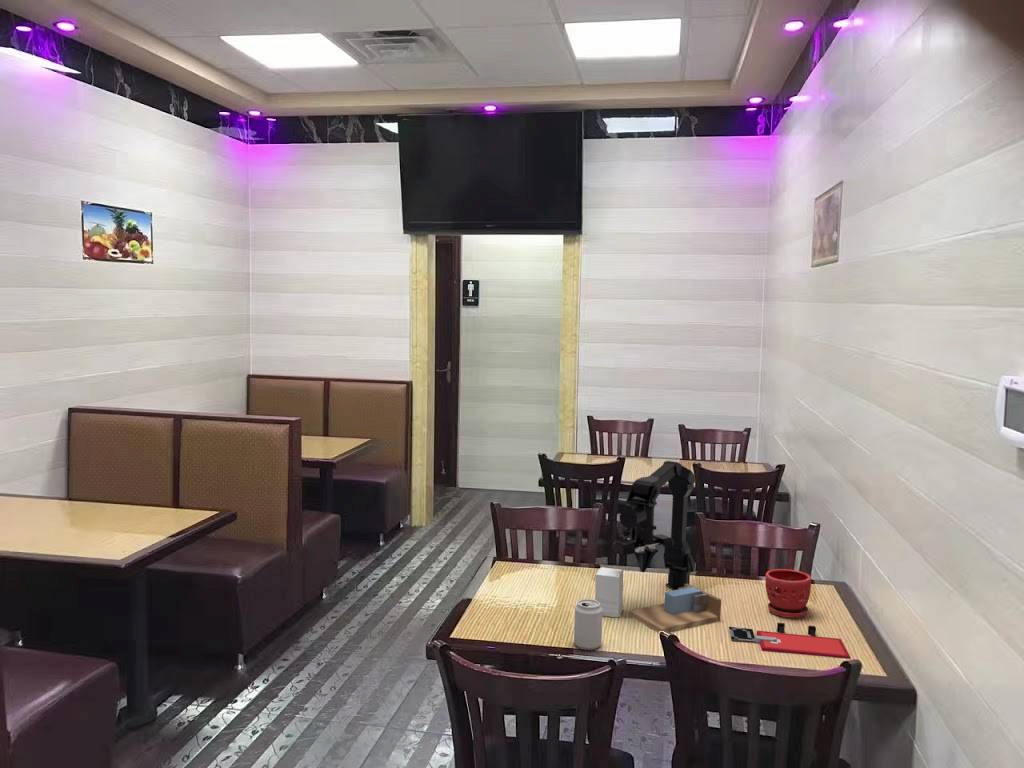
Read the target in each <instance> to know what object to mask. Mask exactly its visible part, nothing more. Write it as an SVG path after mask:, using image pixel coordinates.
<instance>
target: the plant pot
mask: <svg viewBox="0 0 1024 768" xmlns="http://www.w3.org/2000/svg"><path fill="white" fill-rule="evenodd" d="M789 579H791V580H789ZM811 588H812V578H811V575H810V574H808V573H807V572H806V573H805V572H802V571H800V570H795V569H787V568H786V569H785V568H784V569H783V568H777V569H771V570H768V571H767V572H766V573H765V592H766V596H767V598H768V601H769V603H768V604H767V607H768V610H769V611H770V612H771V613H773V614H774V615H776V616H778V617H779V616H780V617H783V618H788V619H798V618H802V617H805V616H806V615H807V614H808V613H809V607H808V606H807V605H808V602H809V600H810V596H811Z"/></svg>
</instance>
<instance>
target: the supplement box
mask: <svg viewBox="0 0 1024 768" xmlns="http://www.w3.org/2000/svg"><path fill="white" fill-rule="evenodd" d="M594 576H595V583H594V585H595V587H594V589H595V591H594V592H595V593H594V595H595V596H594V598H595V599H594V600H596V601H598V602H599V603H600V606H601V607H602V617H609V616H610V617H612V618H617V617H618V618H619V617H620V616H621V613H622V612H623V610H624V608H623V607H624V604H623V603H624V602H623V601H624V569H618V568H611V567H609V568H608V567H603V566H602V567H600V568H599V569H598V571H597V572H596V573H595V575H594Z"/></svg>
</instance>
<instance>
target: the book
mask: <svg viewBox="0 0 1024 768" xmlns="http://www.w3.org/2000/svg"><path fill="white" fill-rule="evenodd" d="M695 587H696V586H693V587H689V588H684V589H679V590H675V589H673V590H670V591H664V603H663V604H664V610H665V611H667V612H669V613H671V614H673V615H674V614H678V613H683V612H688V611H692V610H693V606H694V595H699V594H702V591H703V590H702V589H700V588H698V589H697V587H696V588H695ZM699 589H700V590H699ZM701 590H702V591H701Z"/></svg>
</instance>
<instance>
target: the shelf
mask: <svg viewBox="0 0 1024 768" xmlns="http://www.w3.org/2000/svg"><path fill="white" fill-rule="evenodd" d="M689 587H695V588H697V587H696V586H693V585H691V584H690V583H689V584H684V587H680V588H678V590H679V589H684V588H689ZM697 589H699V590H701V591H702V594H699V595H694V606H693V610H692V611H688V612H683V613H678V614H674V615H673V614H671V613H669V612H667V611H665V610H664V603H662V604H657V605H652V606H646V607H641V608H636V609H631V610H629V615H630V616H629V617H631V618H633V619H634V618H635V619H634V620H636V619H637V620H636V621H638V620H639V621H638V622H640V623H641V622H642V623H641V624H643V623H644V624H643V625H645V624H646V625H645V626H647V627H648V626H649V627H648V628H650V627H651V628H650V629H652V628H653V629H652V630H653V631H655V630H656V631H655V632H657V633H659V631H668V633H671V632H672V633H673V632H676V631H681V630H685V629H690V628H694V627H699V626H703V625H707V624H712V623H716V621H717V622H720V621H721V617H722V616H721V615H722V614H721V612H722V611H721V609H722V599H721V598H719V597H716V596H715V595H713V594H710V593H709V592H706V591H704V590H702V589H700V588H697Z"/></svg>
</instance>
